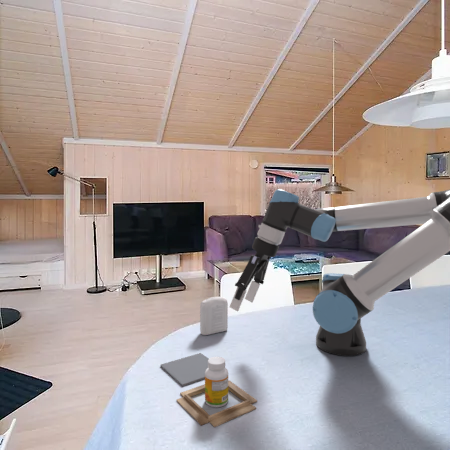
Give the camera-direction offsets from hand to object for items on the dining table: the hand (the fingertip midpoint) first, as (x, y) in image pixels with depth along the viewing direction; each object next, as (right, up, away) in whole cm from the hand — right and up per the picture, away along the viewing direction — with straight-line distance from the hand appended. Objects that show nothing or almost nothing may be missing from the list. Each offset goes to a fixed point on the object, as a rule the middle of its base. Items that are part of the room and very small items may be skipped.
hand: (241, 304), depth 106 cm
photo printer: (-9, -14, +17) cm, 24 cm away
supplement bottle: (-7, -17, -26) cm, 31 cm away
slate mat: (-14, -15, -10) cm, 23 cm away
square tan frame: (-7, -16, -26) cm, 31 cm away
